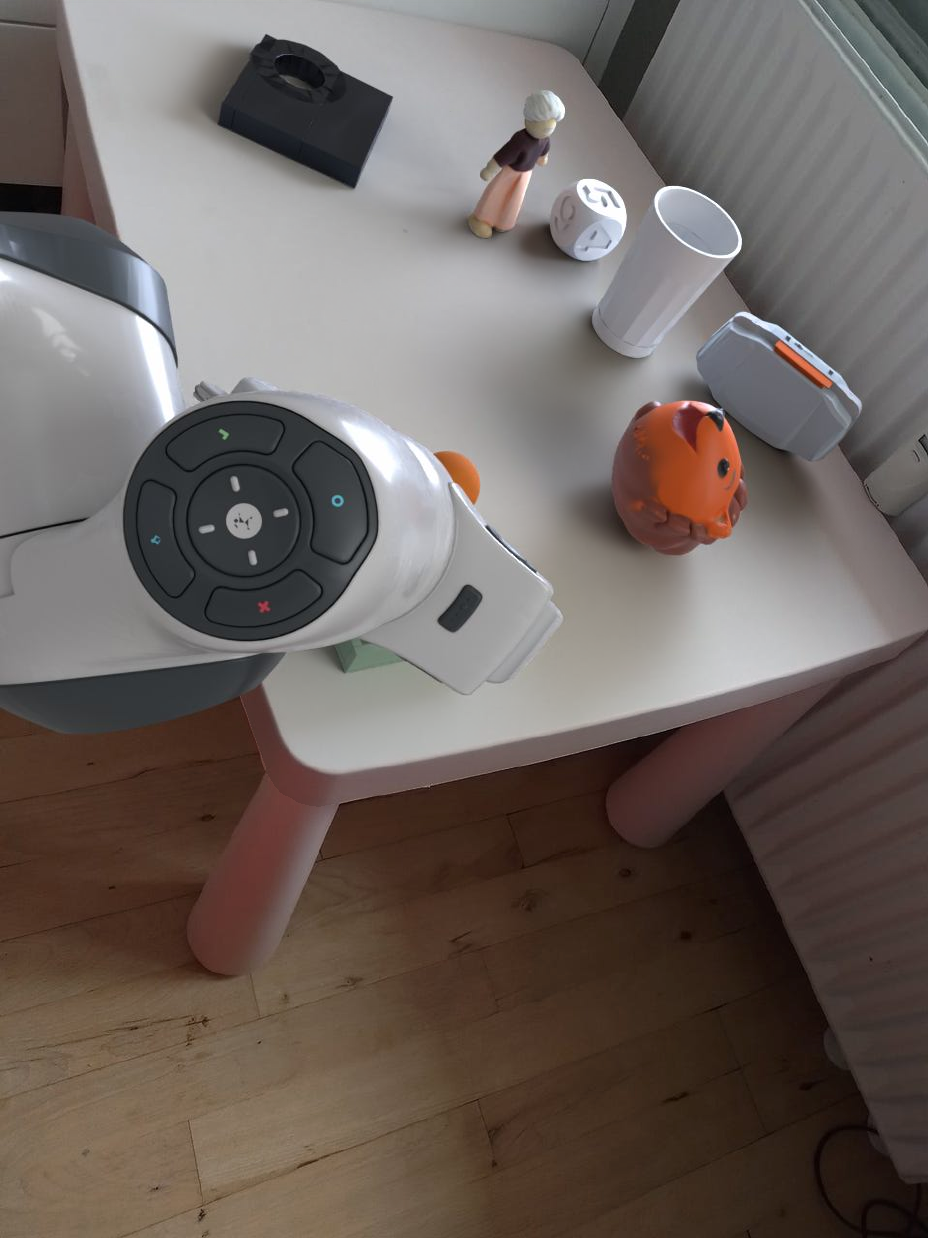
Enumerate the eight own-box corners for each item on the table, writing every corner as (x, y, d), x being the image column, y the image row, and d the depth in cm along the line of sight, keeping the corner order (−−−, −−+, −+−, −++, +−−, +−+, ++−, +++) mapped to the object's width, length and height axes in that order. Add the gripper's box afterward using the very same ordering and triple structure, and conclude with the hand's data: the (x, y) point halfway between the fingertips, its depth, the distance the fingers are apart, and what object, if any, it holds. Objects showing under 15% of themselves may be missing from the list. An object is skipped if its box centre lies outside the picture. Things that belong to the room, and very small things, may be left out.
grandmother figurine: (483, 251, 85) (546, 122, 74) (451, 223, 85) (508, 90, 75) (530, 222, 89) (594, 96, 79) (498, 196, 89) (559, 67, 79)
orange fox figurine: (582, 438, 78) (657, 336, 68) (696, 472, 81) (782, 379, 72) (588, 562, 71) (671, 468, 62) (711, 594, 74) (807, 508, 65)
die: (607, 262, 91) (634, 219, 87) (563, 260, 88) (589, 216, 84) (586, 223, 92) (611, 179, 88) (542, 221, 90) (567, 175, 86)
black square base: (215, 123, 80) (219, 101, 78) (263, 47, 87) (267, 25, 86) (354, 188, 82) (361, 168, 81) (389, 109, 90) (396, 89, 88)
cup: (569, 297, 86) (637, 183, 76) (638, 296, 90) (712, 187, 80) (607, 366, 83) (683, 257, 74) (677, 363, 87) (758, 258, 77)
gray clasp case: (816, 461, 88) (879, 403, 81) (806, 478, 86) (869, 420, 79) (691, 360, 88) (743, 294, 82) (678, 375, 86) (731, 309, 80)
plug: (355, 594, 62) (419, 476, 52) (369, 548, 64) (433, 427, 54) (410, 615, 63) (484, 503, 53) (422, 569, 65) (495, 453, 55)
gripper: (140, 435, 44) (242, 458, 58) (493, 721, 43) (511, 676, 57) (222, 321, 43) (306, 372, 57) (583, 611, 43) (580, 592, 56)
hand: (411, 526), depth 57 cm, fingers open, 8 cm apart
